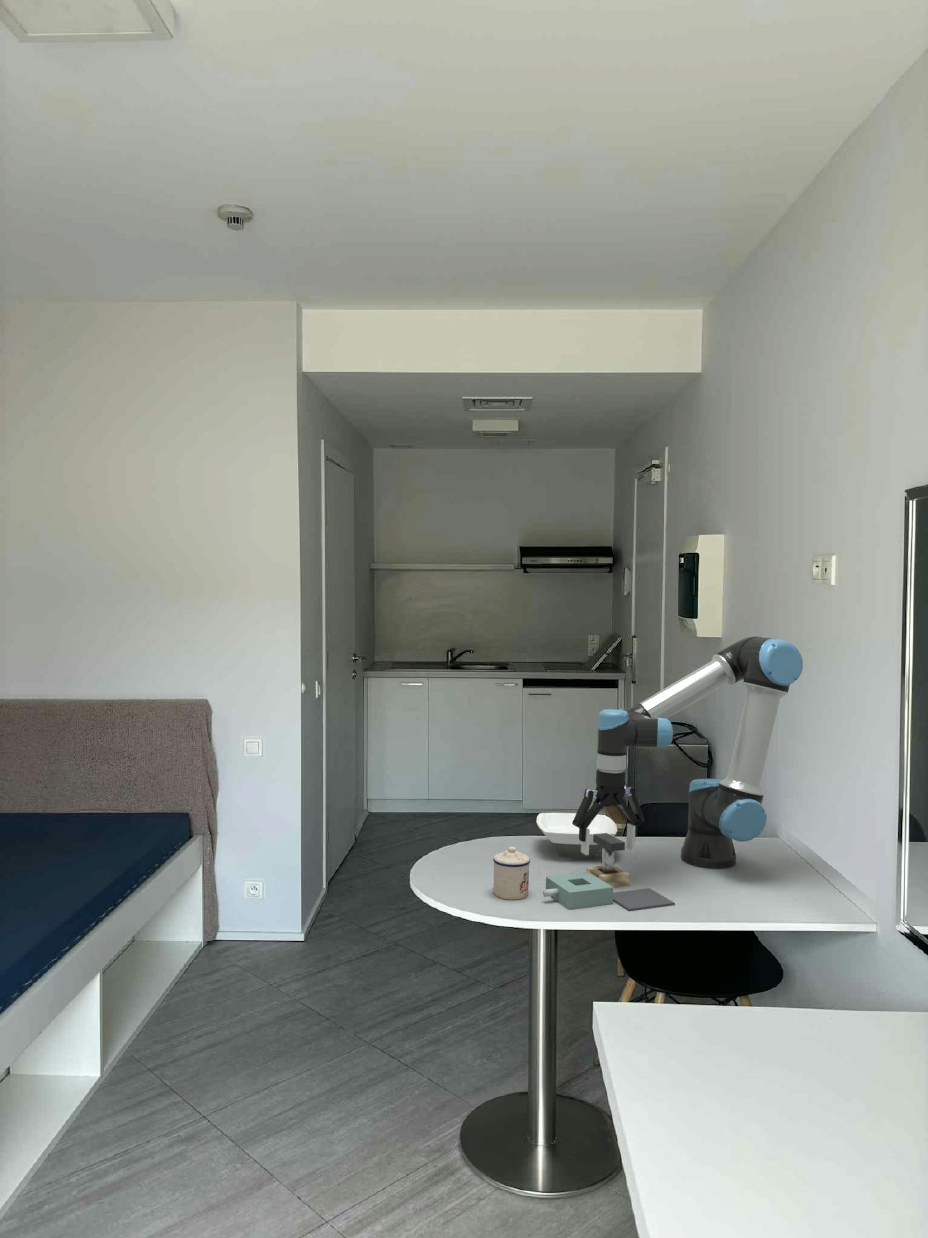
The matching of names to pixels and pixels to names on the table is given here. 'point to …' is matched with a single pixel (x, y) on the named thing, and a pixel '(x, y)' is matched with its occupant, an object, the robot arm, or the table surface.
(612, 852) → the block
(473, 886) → the table surface
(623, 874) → the beige square frame
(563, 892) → the block
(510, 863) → the teacup with lid
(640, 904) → the mat
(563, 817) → the bowl
